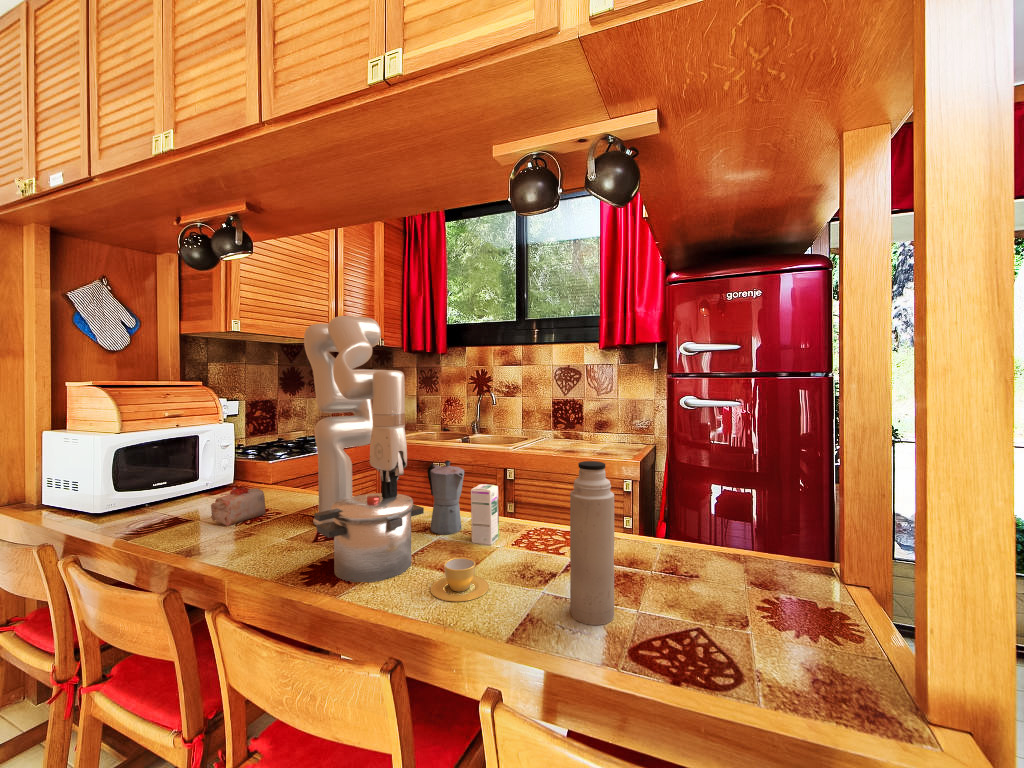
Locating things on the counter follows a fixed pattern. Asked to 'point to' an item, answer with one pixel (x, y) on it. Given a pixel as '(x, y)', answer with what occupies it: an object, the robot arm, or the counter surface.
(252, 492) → the food item
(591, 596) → the thermos bottle
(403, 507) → the lid
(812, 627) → the counter surface
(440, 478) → the moka pot
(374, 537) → the pot
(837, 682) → the counter surface
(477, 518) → the syrup box
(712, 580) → the counter surface
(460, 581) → the cup
